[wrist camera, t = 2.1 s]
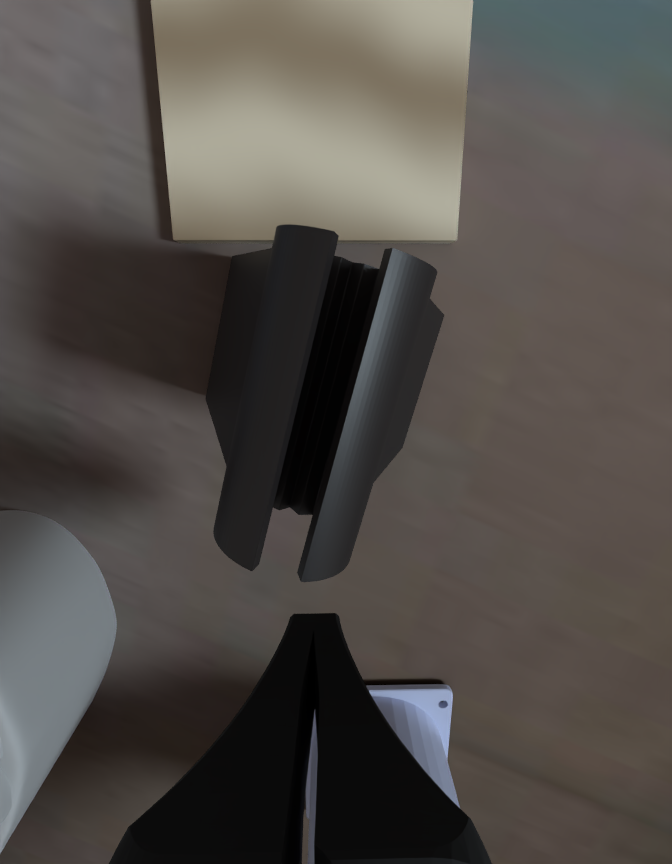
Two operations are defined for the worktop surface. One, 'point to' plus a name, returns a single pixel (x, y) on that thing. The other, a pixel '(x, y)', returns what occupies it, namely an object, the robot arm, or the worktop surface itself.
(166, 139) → the birch board
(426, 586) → the worktop surface
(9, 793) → the lumpy-topped squat cylinder
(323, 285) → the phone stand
